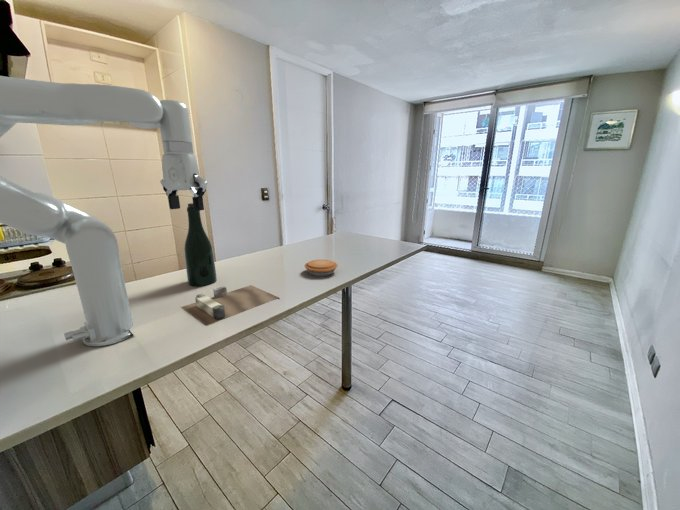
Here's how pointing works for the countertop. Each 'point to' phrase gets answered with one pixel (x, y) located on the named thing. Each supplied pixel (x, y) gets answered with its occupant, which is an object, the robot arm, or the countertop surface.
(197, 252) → the green wine bottle
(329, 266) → the pie
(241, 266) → the countertop surface
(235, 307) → the brown wooden flat board
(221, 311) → the folding leg
